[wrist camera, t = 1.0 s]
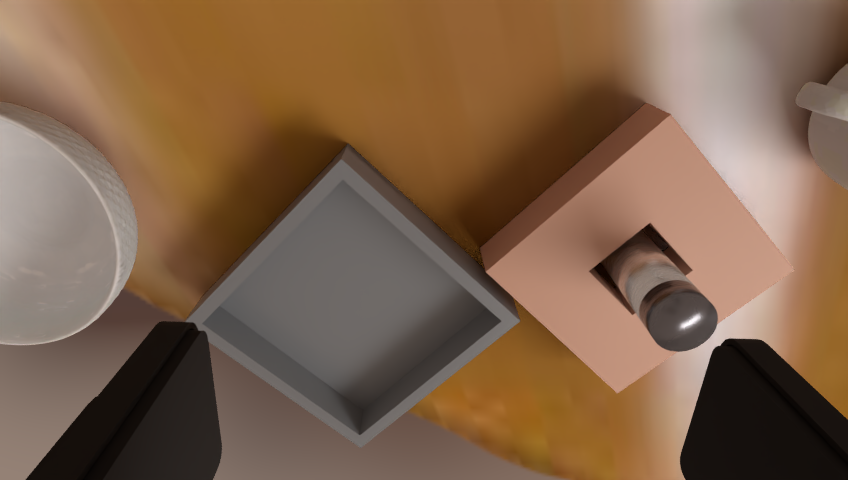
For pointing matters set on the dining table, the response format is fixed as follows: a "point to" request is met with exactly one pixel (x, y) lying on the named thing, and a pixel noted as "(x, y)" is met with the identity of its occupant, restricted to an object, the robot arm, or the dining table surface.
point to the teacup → (828, 124)
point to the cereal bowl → (58, 229)
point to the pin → (661, 295)
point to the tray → (354, 302)
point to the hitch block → (615, 224)
